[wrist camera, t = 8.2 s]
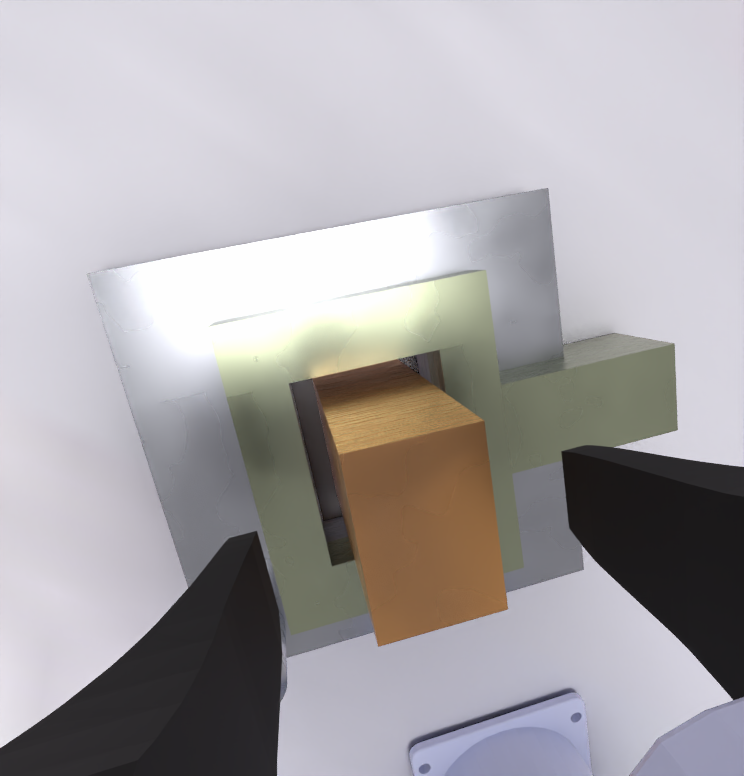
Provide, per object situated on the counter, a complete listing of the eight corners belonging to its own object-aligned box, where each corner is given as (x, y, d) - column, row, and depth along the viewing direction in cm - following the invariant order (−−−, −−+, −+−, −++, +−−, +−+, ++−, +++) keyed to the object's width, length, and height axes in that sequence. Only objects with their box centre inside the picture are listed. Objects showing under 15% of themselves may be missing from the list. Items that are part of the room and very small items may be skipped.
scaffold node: (627, 530, 21) (704, 586, 17) (222, 647, 19) (208, 741, 15) (604, 180, 18) (694, 154, 14) (104, 273, 16) (48, 273, 12)
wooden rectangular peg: (414, 473, 19) (507, 609, 11) (336, 492, 19) (378, 646, 11) (394, 357, 18) (484, 420, 10) (311, 374, 17) (338, 454, 10)
